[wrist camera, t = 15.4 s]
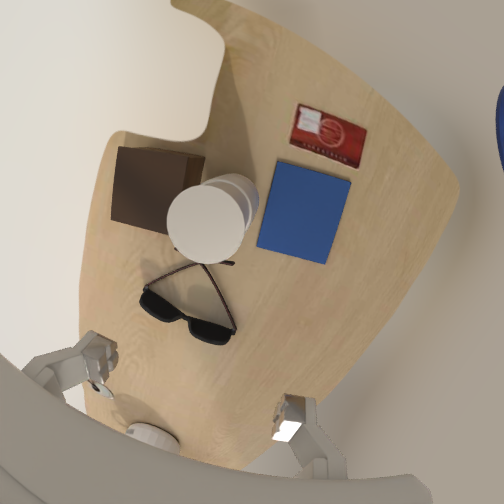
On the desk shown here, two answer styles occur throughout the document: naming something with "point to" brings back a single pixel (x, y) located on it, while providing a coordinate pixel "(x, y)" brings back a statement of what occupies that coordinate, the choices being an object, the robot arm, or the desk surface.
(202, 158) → the box
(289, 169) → the cloth
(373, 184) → the desk surface
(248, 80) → the desk surface
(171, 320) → the sunglasses
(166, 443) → the white plant pot
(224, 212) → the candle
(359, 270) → the desk surface
